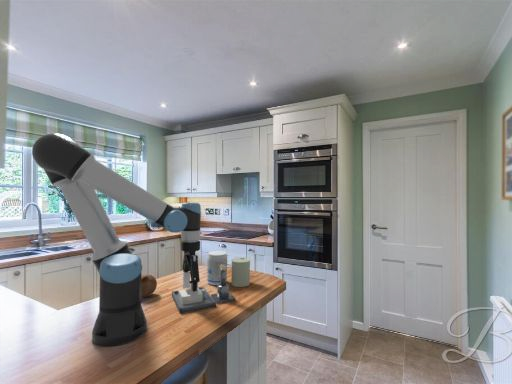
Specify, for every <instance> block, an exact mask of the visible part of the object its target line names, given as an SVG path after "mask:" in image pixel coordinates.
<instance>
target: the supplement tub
mask: <svg viewBox="0 0 512 384" xmlns="http://www.w3.org/2000/svg"><path fill="white" fill-rule="evenodd" d="M220 264H224V265H225V266H227V267H228V252H227V251H224V250H213V251H208V253H207V269H206V270H207V274H206V276H207V277H206V282H207V284H209V285H211V286H217V285H218V284H220V270H221V268H220ZM227 276H228V269H227V270H226V282H227V281H228V277H227Z"/></svg>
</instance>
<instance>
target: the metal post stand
mask: <svg viewBox="0 0 512 384" xmlns="http://www.w3.org/2000/svg"><path fill="white" fill-rule="evenodd" d="M220 268H221V270H220V284H218V285H216V286H217V292H216V293H211V294H210V296H211V297H212V298H213V299H214V300H215V302H216V305H218V304H223V303H229V302H235V301H236V297H235V295H233V294H232V293H231V292H230V285H229V283H227V281H226V270H227V271H228V265H227V266H225V265H224V264H220Z"/></svg>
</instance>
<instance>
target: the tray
mask: <svg viewBox="0 0 512 384" xmlns="http://www.w3.org/2000/svg"><path fill="white" fill-rule="evenodd" d="M198 288H199V290H200V289H204V290H205V298H203V301H201V302H196V303H190V304H184V305H182V304H181V302H180V300H179V298H178V290H172V291H171V298H172V299H173V301H174V304H175V306H176V308H177V310H178V312H179V314H184V313H190V312H195V311H200V310H205V309H211V308H215V307H217V303H216V302H215V300H214V299H213V298H212V297H211V294H210V293H209V292H208V291H207V290H206V288H205V287H204V286H198Z"/></svg>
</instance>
